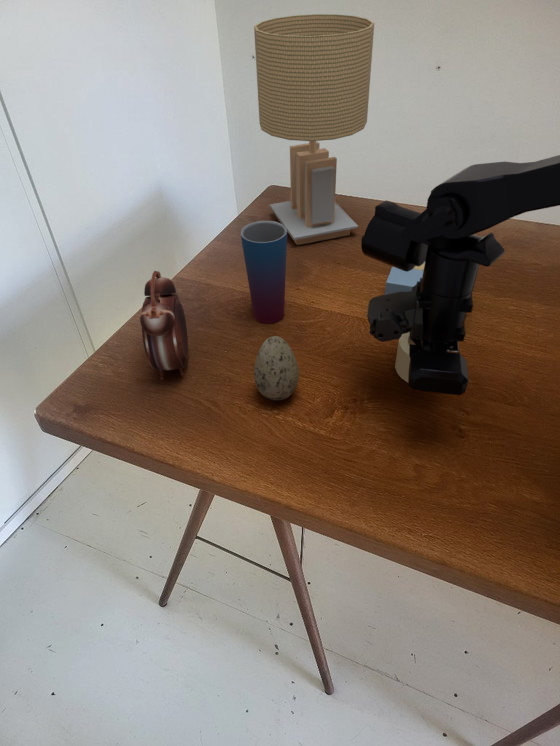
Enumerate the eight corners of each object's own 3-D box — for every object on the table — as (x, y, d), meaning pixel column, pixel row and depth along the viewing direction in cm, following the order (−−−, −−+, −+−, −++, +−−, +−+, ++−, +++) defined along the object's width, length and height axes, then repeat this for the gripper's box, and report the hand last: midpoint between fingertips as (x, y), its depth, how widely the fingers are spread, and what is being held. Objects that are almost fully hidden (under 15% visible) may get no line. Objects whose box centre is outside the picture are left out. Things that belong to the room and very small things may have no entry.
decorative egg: (288, 415, 69) (286, 359, 62) (248, 402, 71) (242, 346, 64) (305, 386, 73) (305, 330, 66) (267, 375, 75) (263, 319, 68)
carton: (467, 297, 87) (477, 254, 82) (458, 339, 79) (470, 295, 74) (395, 285, 91) (401, 243, 85) (380, 324, 83) (385, 281, 77)
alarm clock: (160, 342, 81) (139, 258, 71) (190, 340, 81) (174, 255, 71) (154, 391, 73) (129, 303, 63) (188, 388, 73) (169, 300, 63)
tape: (455, 357, 76) (462, 331, 73) (447, 393, 71) (454, 366, 68) (401, 345, 79) (405, 319, 75) (389, 379, 73) (393, 353, 70)
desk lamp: (253, 213, 113) (240, 20, 89) (337, 199, 117) (345, 10, 93) (282, 256, 99) (274, 41, 75) (375, 238, 103) (396, 28, 80)
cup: (289, 327, 83) (286, 242, 73) (247, 327, 83) (238, 243, 73) (289, 302, 88) (287, 219, 78) (249, 303, 88) (242, 220, 78)
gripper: (379, 239, 67) (369, 334, 77) (369, 326, 53) (358, 427, 64) (469, 245, 65) (446, 342, 75) (482, 337, 52) (452, 439, 62)
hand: (425, 383), depth 69 cm, fingers closed
